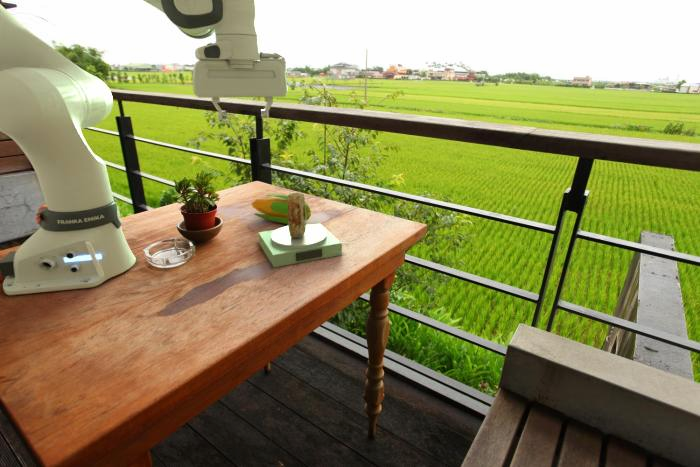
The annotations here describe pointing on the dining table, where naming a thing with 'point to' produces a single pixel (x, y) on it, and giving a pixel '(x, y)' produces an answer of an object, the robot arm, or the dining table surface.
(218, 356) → the dining table surface
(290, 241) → the scale
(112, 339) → the dining table surface
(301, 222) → the stone disc
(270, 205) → the corn
